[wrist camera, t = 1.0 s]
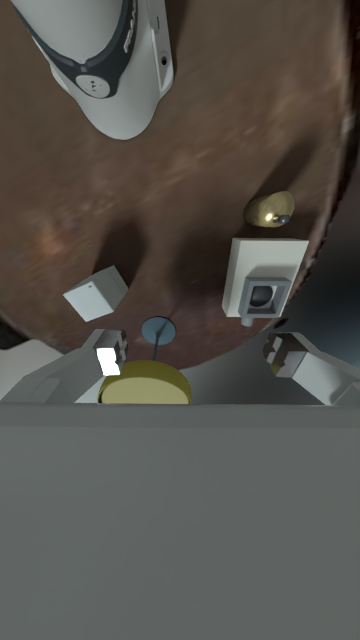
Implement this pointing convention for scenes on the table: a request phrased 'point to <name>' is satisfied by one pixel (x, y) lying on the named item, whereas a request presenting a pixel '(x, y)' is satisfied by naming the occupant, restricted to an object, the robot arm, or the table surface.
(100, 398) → the cocktail glass
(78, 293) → the supplement box
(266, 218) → the spout can
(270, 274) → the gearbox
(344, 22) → the table surface
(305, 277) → the table surface
